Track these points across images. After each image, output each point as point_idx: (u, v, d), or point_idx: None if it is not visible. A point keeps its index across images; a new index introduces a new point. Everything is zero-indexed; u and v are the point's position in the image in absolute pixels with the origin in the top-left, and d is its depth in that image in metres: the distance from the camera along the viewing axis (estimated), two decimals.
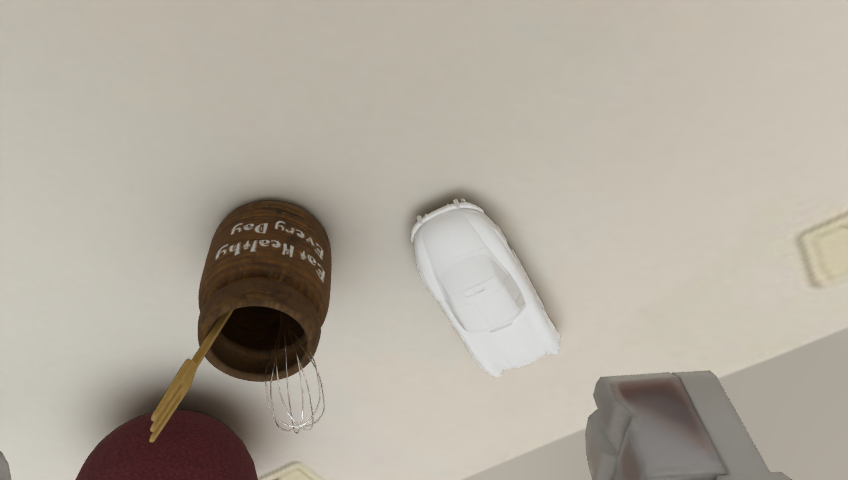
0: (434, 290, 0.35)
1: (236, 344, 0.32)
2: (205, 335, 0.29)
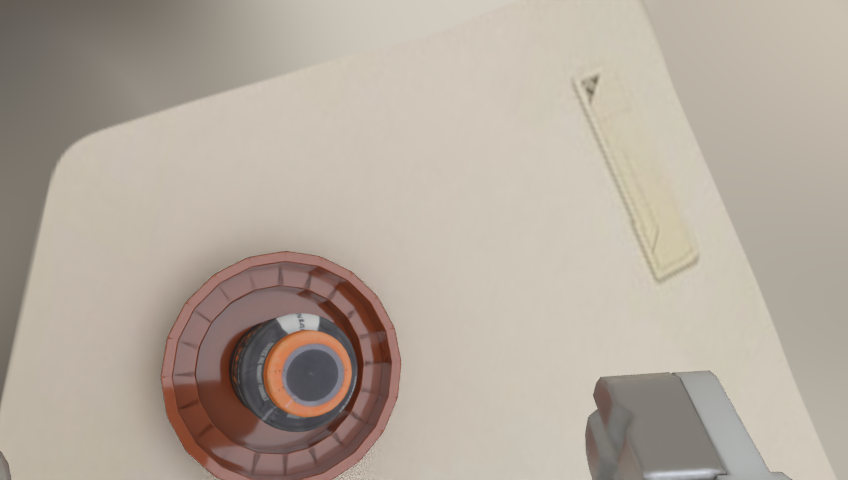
0: None
1: None
2: None
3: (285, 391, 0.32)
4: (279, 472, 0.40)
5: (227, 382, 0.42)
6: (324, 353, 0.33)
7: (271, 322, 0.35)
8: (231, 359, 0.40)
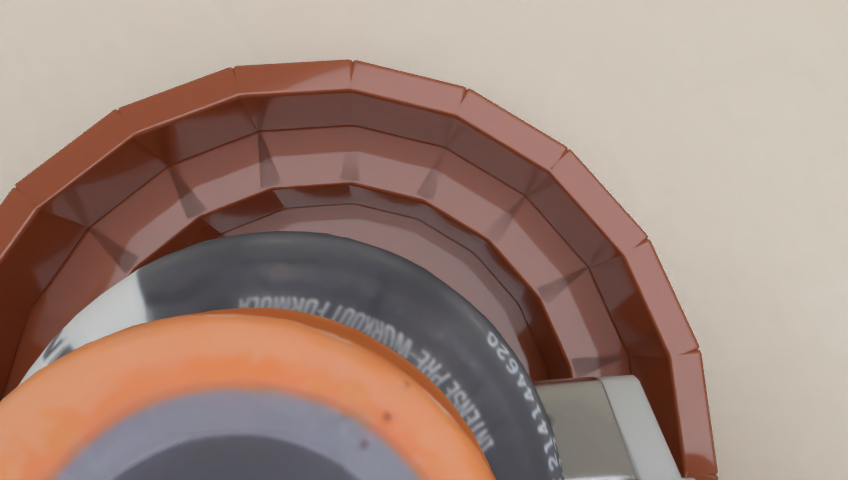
0: None
1: None
2: None
3: None
4: None
5: None
6: (170, 464, 0.04)
7: None
8: None
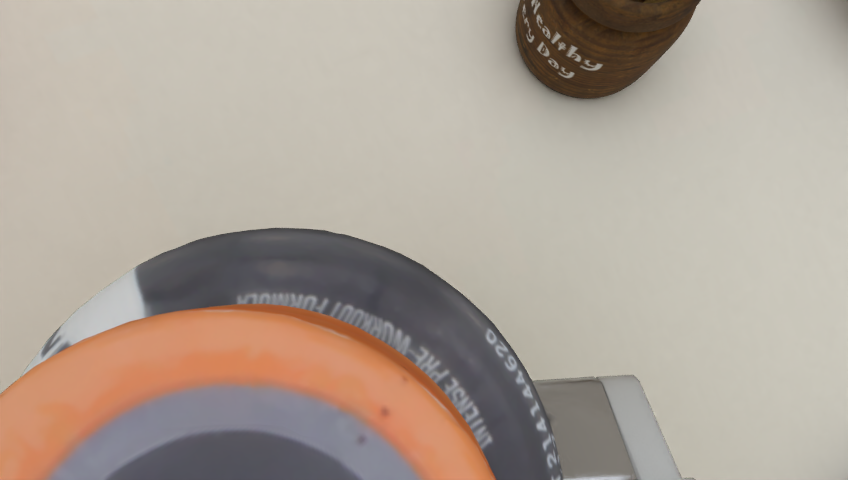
0: None
1: None
2: (675, 0, 0.22)
3: None
4: None
5: None
6: (168, 460, 0.04)
7: None
8: None
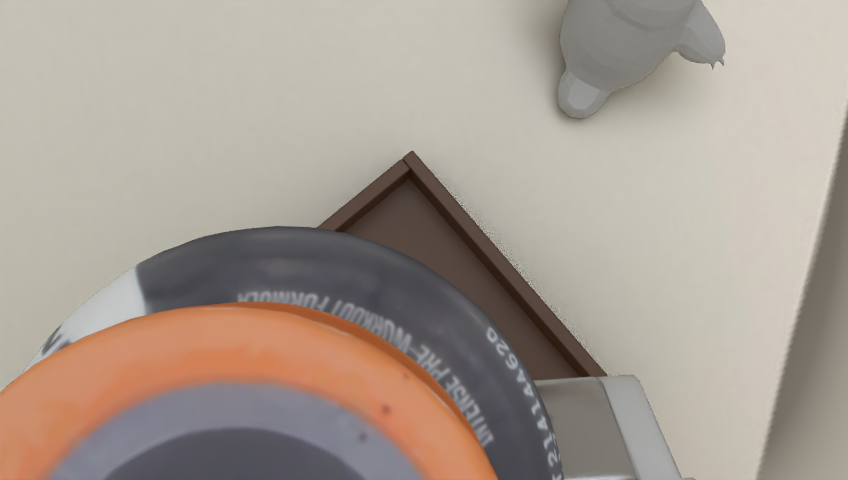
0: None
1: None
2: None
3: None
4: None
5: None
6: (169, 457, 0.04)
7: None
8: None
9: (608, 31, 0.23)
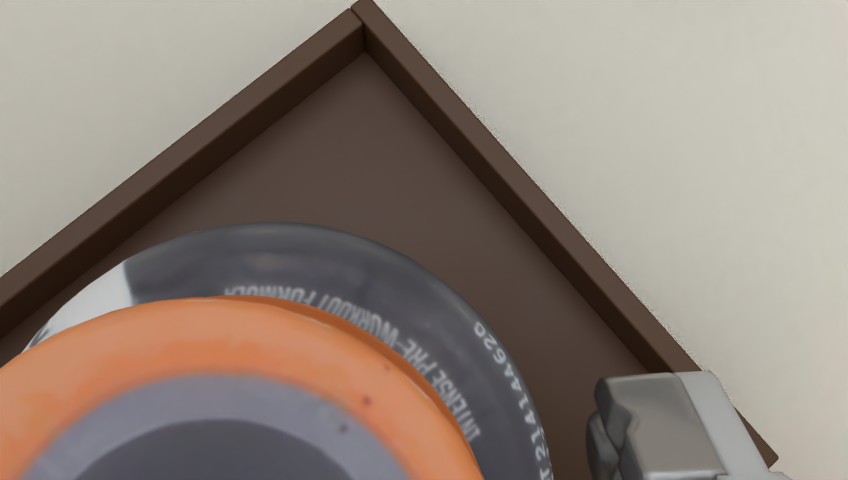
0: None
1: None
2: None
3: None
4: None
5: None
6: (150, 448, 0.04)
7: None
8: None
9: None
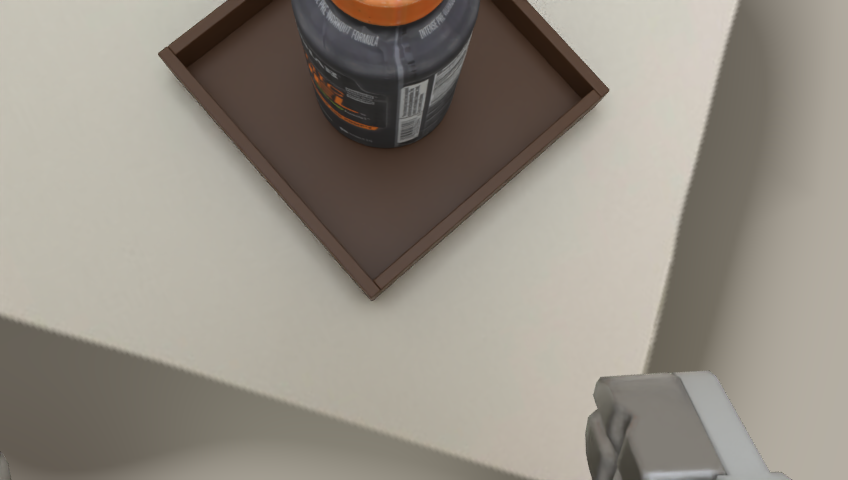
0: None
1: None
2: None
3: None
4: None
5: None
6: None
7: None
8: (325, 111, 0.28)
9: None
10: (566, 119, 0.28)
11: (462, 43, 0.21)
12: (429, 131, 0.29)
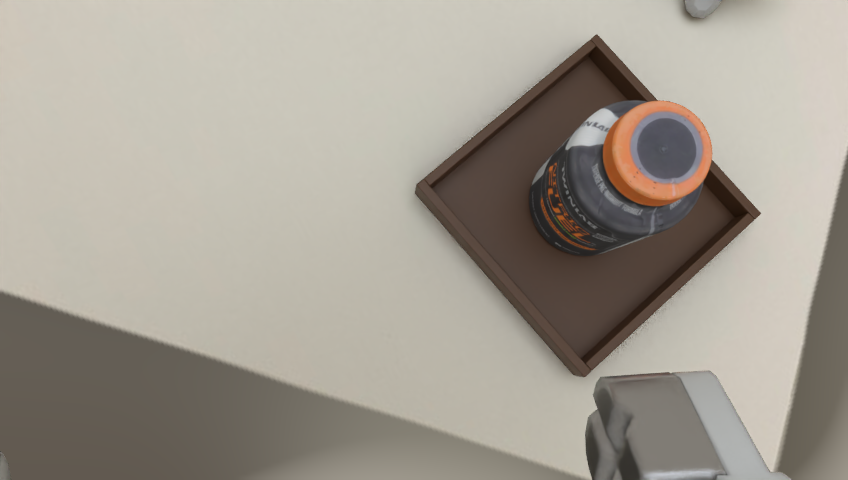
0: None
1: None
2: None
3: (660, 183, 0.27)
4: None
5: None
6: (657, 121, 0.27)
7: (572, 152, 0.29)
8: (545, 230, 0.36)
9: None
10: (728, 237, 0.37)
11: None
12: None
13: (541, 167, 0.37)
